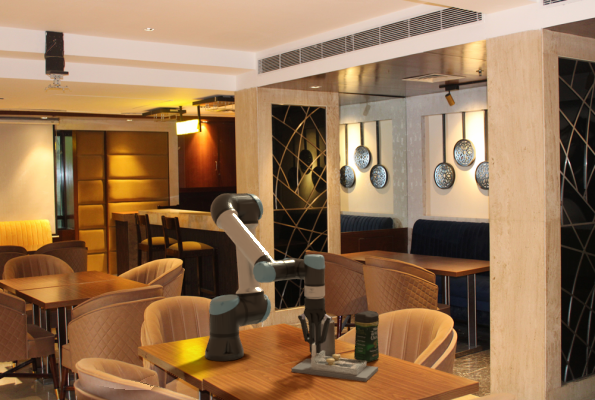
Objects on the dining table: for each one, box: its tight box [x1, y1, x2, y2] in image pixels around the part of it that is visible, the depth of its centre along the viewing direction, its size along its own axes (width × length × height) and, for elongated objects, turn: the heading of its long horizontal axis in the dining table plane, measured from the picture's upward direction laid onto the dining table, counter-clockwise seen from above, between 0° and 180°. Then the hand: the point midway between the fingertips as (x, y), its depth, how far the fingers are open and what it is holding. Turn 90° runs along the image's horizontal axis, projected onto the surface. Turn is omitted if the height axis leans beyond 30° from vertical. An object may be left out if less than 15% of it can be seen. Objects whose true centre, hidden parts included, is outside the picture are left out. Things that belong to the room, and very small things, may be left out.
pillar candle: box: [310, 318, 336, 357], centre depth 228 cm, size 10×10×15 cm
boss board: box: [291, 353, 379, 383], centre depth 207 cm, size 28×14×5 cm, turn 66°
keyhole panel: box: [310, 350, 367, 375], centre depth 206 cm, size 17×11×4 cm, turn 66°
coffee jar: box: [353, 310, 380, 363], centre depth 222 cm, size 10×8×19 cm
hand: (315, 361), depth 210 cm, fingers closed
